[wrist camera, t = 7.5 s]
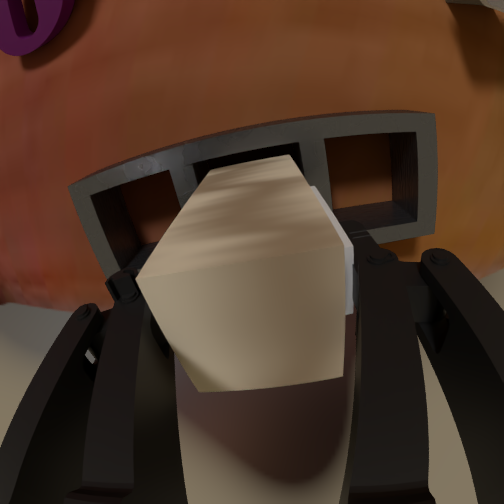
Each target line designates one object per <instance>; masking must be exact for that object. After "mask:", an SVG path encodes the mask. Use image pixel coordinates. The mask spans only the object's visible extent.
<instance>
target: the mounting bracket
mask: <svg viewBox="0 0 504 504" xmlns="http://www.w3.org/2000/svg"><path fill="white" fill-rule="evenodd" d="M34 1H35V5H36V9H37V13H38V17H39V23H38V27H37V29H36V31H35V33H33V32H31V31H30V29H29V28H28V24H27V21H26V17H25V13H24V9H23V5H22V1H21V0H0V49H1V50H2V51H3V52H5V53H7V54H9V55H13V56H21V55H25V54H28V53H30V52H32V51H34V50H35V49H37V48H39V47H41V46H43V45H45V44H46V43H48V42H49V41H50V40H52V39H53V38H54V37H55V36H56V35H57V34H58V33H59V32H60V31H61V30H62V28H63V27H64V26H65V24H66V22H67V21H68V19H69V17H70V14H71V12H72V9H73V6H74V1H75V0H34Z"/></svg>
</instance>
